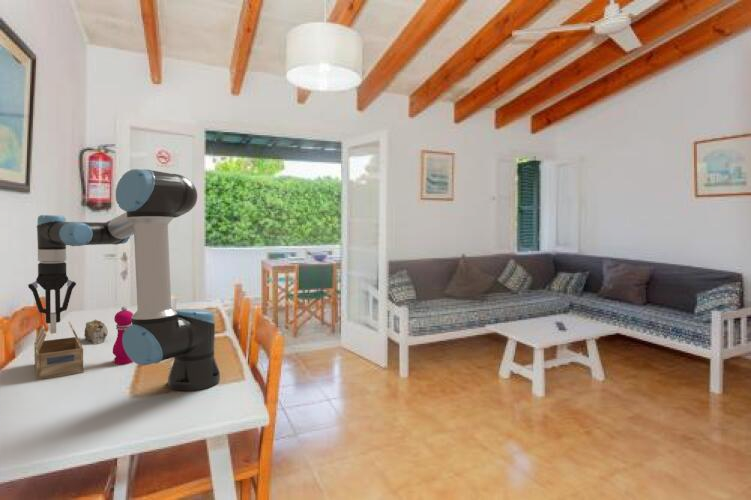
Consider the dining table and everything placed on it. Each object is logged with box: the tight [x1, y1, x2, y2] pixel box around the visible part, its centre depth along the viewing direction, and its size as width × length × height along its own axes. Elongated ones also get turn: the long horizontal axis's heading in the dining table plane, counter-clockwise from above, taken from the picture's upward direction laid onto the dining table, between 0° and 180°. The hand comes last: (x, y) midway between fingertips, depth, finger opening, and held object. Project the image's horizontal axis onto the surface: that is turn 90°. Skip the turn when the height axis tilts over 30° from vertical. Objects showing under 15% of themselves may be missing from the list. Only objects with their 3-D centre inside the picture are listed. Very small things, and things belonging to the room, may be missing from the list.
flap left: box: [34, 324, 47, 352], centre depth 141 cm, size 16×6×1 cm
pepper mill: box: [112, 305, 134, 366], centre depth 153 cm, size 7×7×20 cm
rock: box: [83, 319, 109, 345], centre depth 180 cm, size 12×7×10 cm, turn 46°
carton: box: [33, 336, 84, 381], centre depth 145 cm, size 19×12×8 cm, turn 40°
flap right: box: [67, 321, 83, 347], centre depth 147 cm, size 16×6×1 cm
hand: (53, 332), depth 144 cm, fingers closed
